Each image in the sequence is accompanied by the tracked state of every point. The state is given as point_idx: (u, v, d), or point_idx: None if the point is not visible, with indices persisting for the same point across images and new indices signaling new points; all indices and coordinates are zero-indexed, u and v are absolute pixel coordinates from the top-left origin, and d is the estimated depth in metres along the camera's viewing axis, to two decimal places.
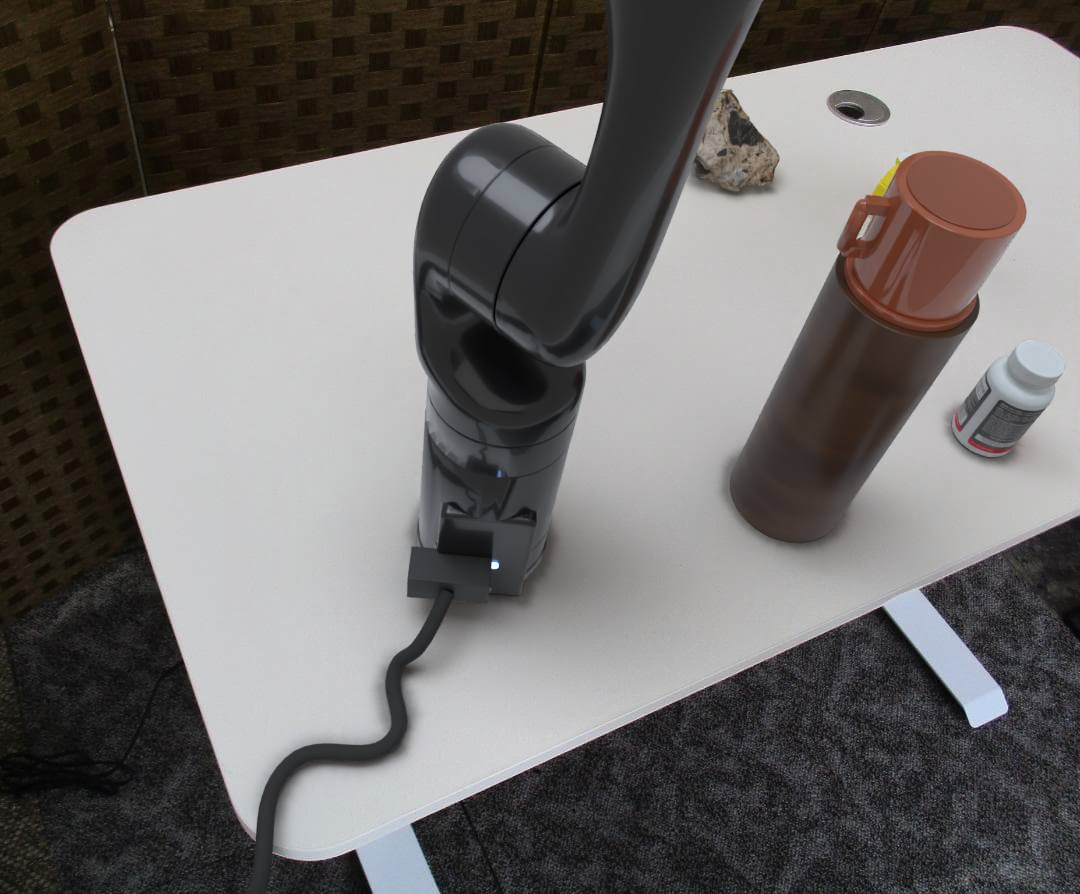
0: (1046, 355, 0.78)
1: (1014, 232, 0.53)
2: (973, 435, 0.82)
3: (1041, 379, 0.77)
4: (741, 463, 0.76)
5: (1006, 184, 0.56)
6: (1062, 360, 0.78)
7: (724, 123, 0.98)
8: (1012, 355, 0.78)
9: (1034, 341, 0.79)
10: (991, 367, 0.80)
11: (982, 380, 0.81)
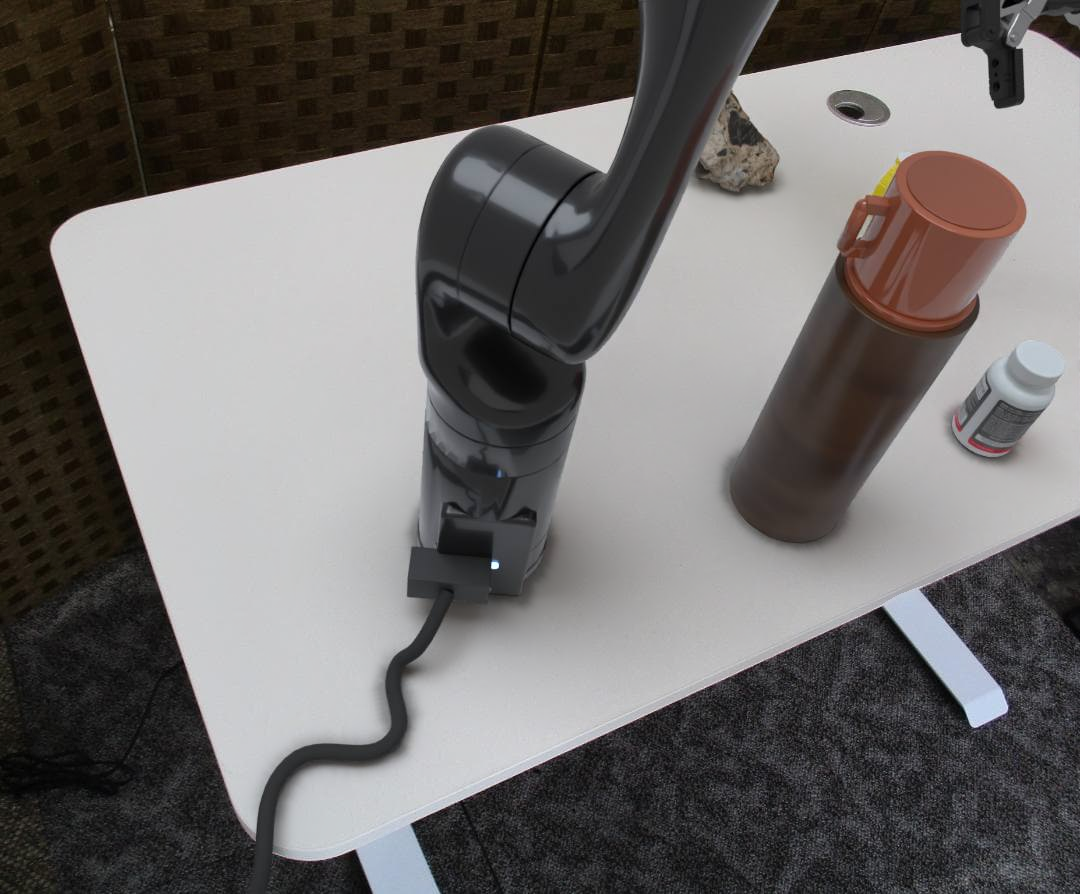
0: (1046, 355, 0.78)
1: (1014, 232, 0.53)
2: (973, 435, 0.82)
3: (1041, 379, 0.77)
4: (741, 463, 0.76)
5: (1006, 184, 0.56)
6: (1062, 360, 0.78)
7: (724, 123, 0.98)
8: (1012, 355, 0.78)
9: (1034, 341, 0.79)
10: (991, 367, 0.80)
11: (982, 380, 0.81)
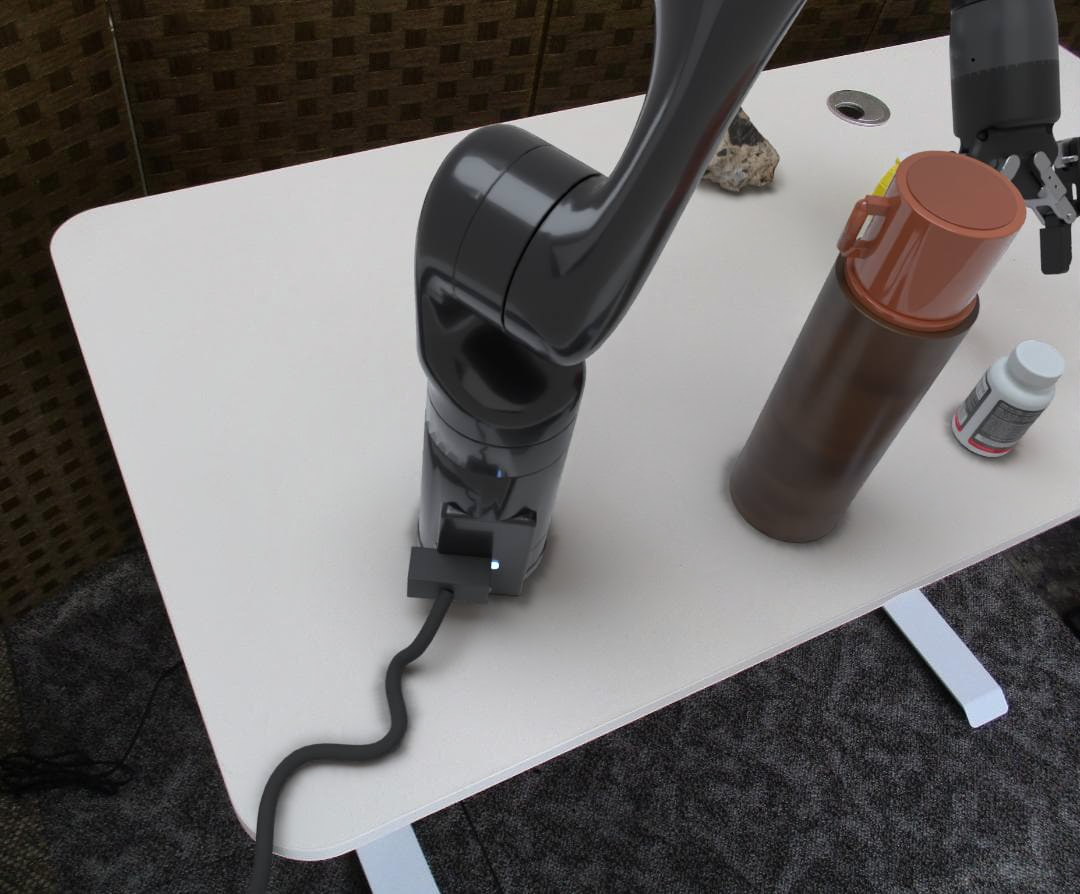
0: (1046, 355, 0.78)
1: (1014, 232, 0.53)
2: (973, 435, 0.82)
3: (1041, 379, 0.77)
4: (741, 463, 0.76)
5: (1006, 184, 0.56)
6: (1062, 360, 0.78)
7: None
8: (1012, 355, 0.78)
9: (1034, 341, 0.79)
10: (991, 367, 0.80)
11: (982, 380, 0.81)
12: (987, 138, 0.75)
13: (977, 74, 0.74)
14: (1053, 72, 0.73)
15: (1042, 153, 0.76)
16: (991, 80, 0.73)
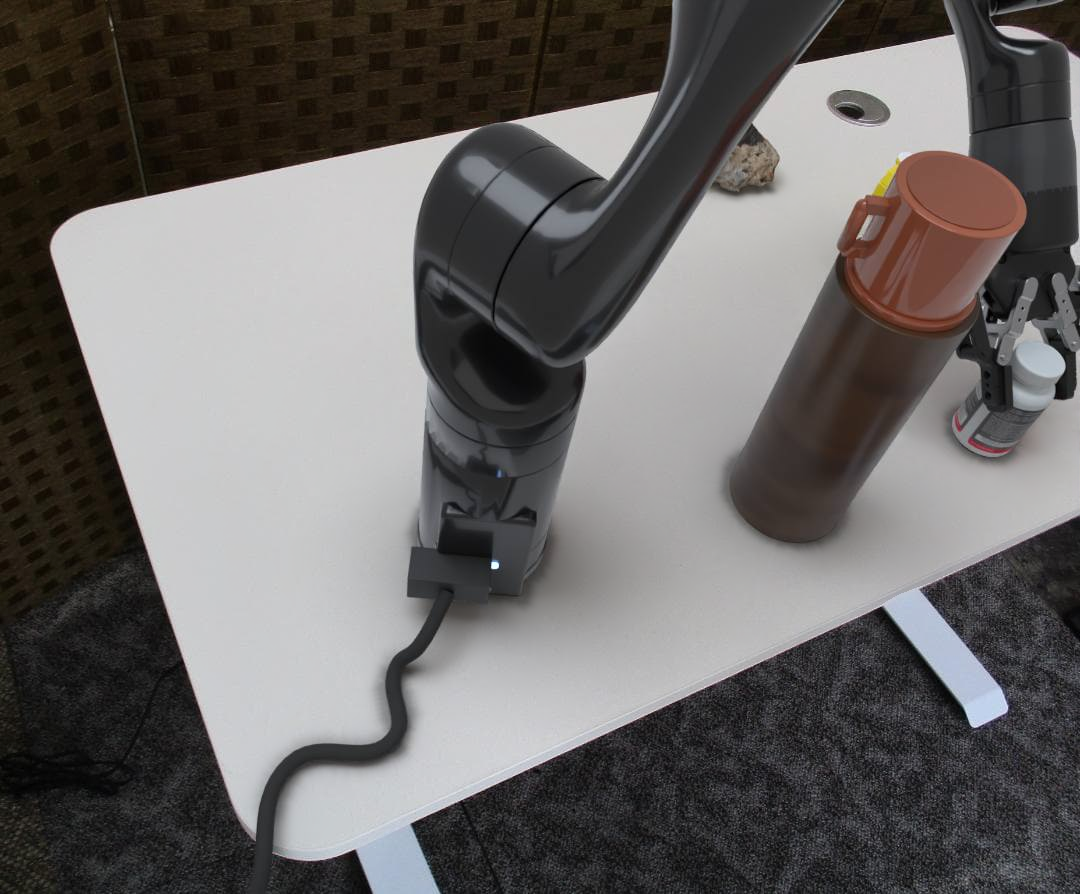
0: (1046, 355, 0.78)
1: (1014, 232, 0.53)
2: (973, 435, 0.82)
3: (1040, 380, 0.77)
4: (741, 463, 0.76)
5: (1006, 184, 0.56)
6: (1062, 360, 0.78)
7: None
8: (1012, 355, 0.78)
9: (1034, 341, 0.79)
10: None
11: None
12: (1005, 261, 0.75)
13: None
14: (1071, 198, 0.73)
15: (1061, 275, 0.76)
16: None
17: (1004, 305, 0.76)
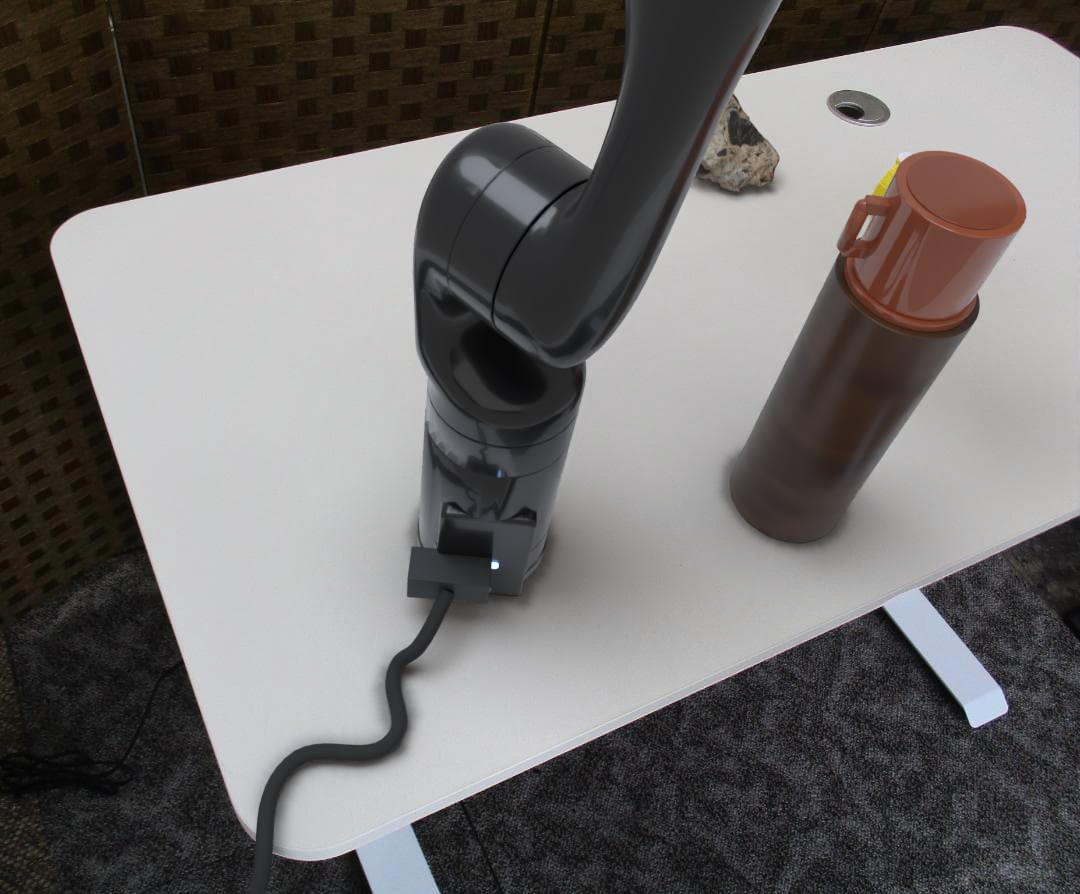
0: None
1: (1014, 232, 0.53)
2: None
3: None
4: (741, 463, 0.76)
5: (1006, 184, 0.56)
6: None
7: (724, 123, 0.98)
8: None
9: None
10: None
11: None
12: None
13: None
14: None
15: None
16: None
17: None
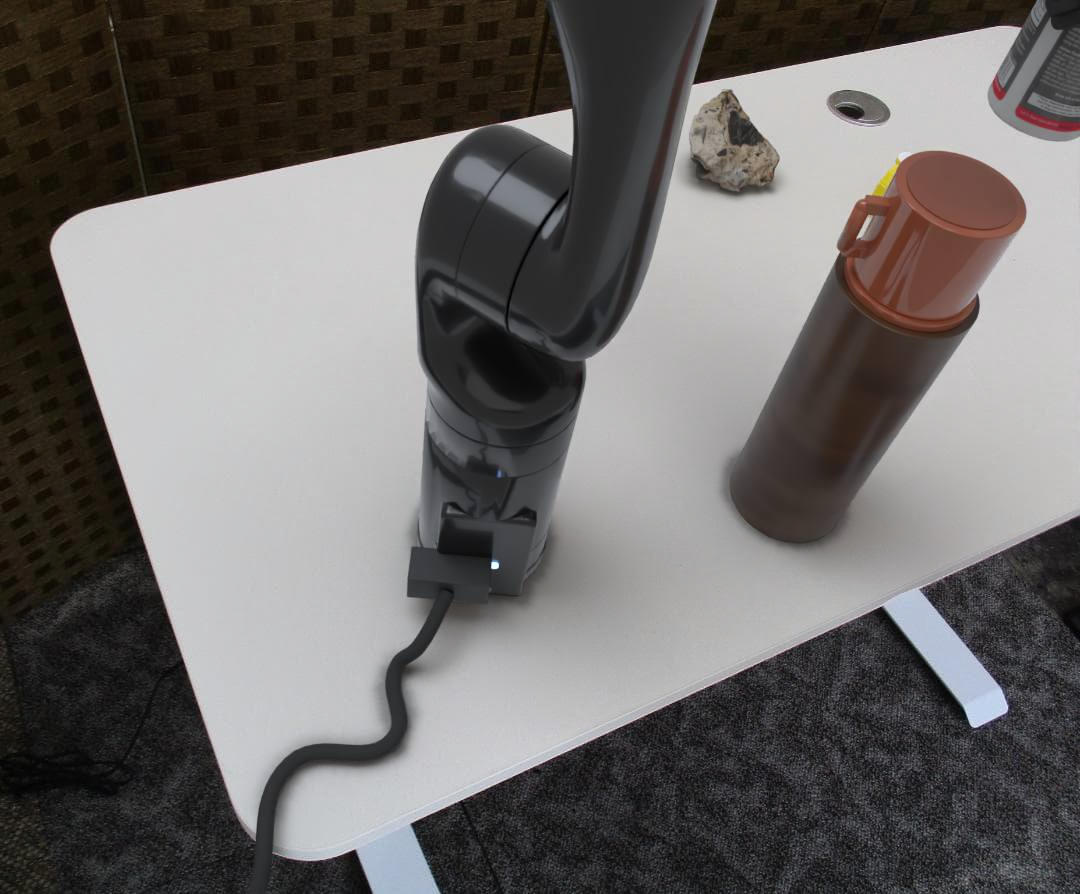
0: None
1: (1014, 232, 0.53)
2: (1026, 97, 0.49)
3: None
4: (741, 463, 0.76)
5: (1006, 184, 0.56)
6: None
7: (724, 123, 0.98)
8: None
9: None
10: None
11: None
12: None
13: None
14: None
15: None
16: None
17: None
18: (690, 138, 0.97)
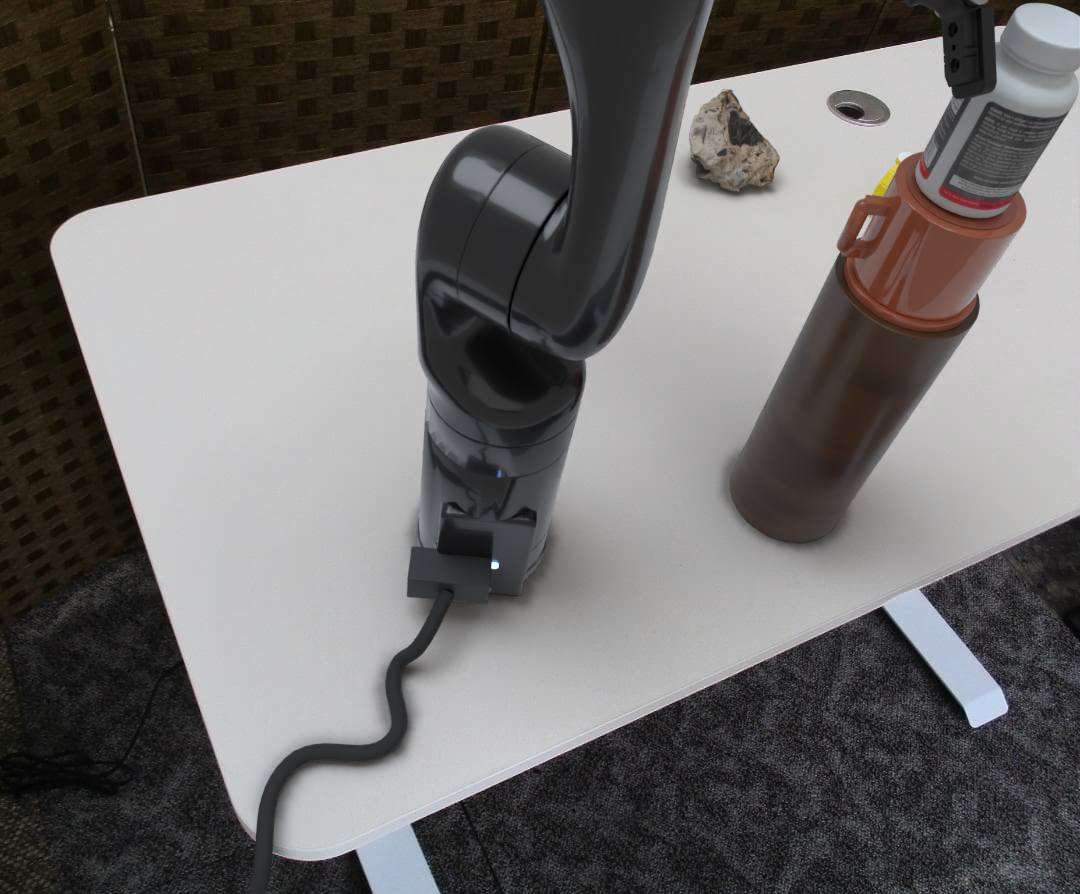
0: (1064, 21, 0.47)
1: (1014, 232, 0.53)
2: (948, 178, 0.52)
3: (1056, 54, 0.46)
4: (741, 463, 0.76)
5: None
6: None
7: (724, 123, 0.98)
8: (1009, 22, 0.48)
9: (1044, 4, 0.48)
10: None
11: None
12: None
13: None
14: None
15: None
16: None
17: None
18: (690, 138, 0.97)
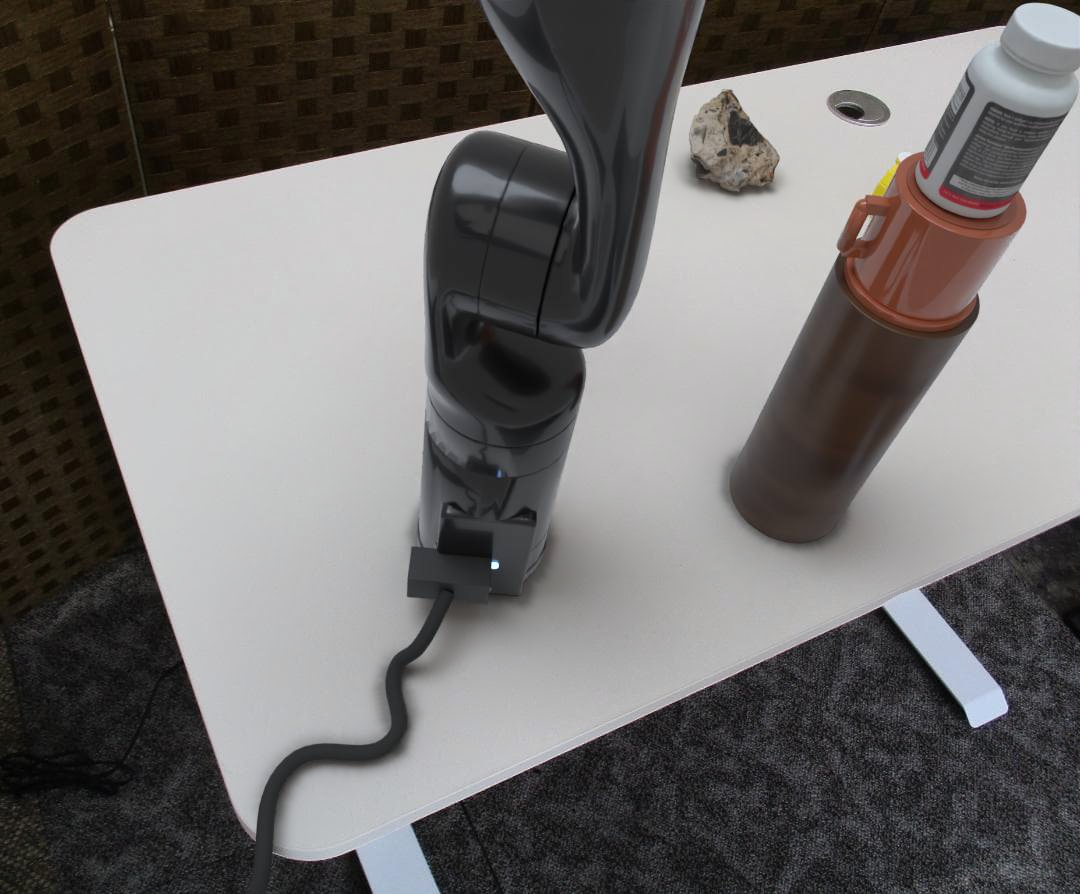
0: (1064, 21, 0.47)
1: (1014, 232, 0.53)
2: (948, 178, 0.52)
3: (1056, 54, 0.46)
4: (741, 463, 0.76)
5: None
6: None
7: (724, 123, 0.98)
8: (1009, 22, 0.48)
9: (1044, 4, 0.48)
10: (975, 56, 0.50)
11: (960, 82, 0.50)
12: None
13: None
14: None
15: None
16: None
17: None
18: (690, 138, 0.97)
